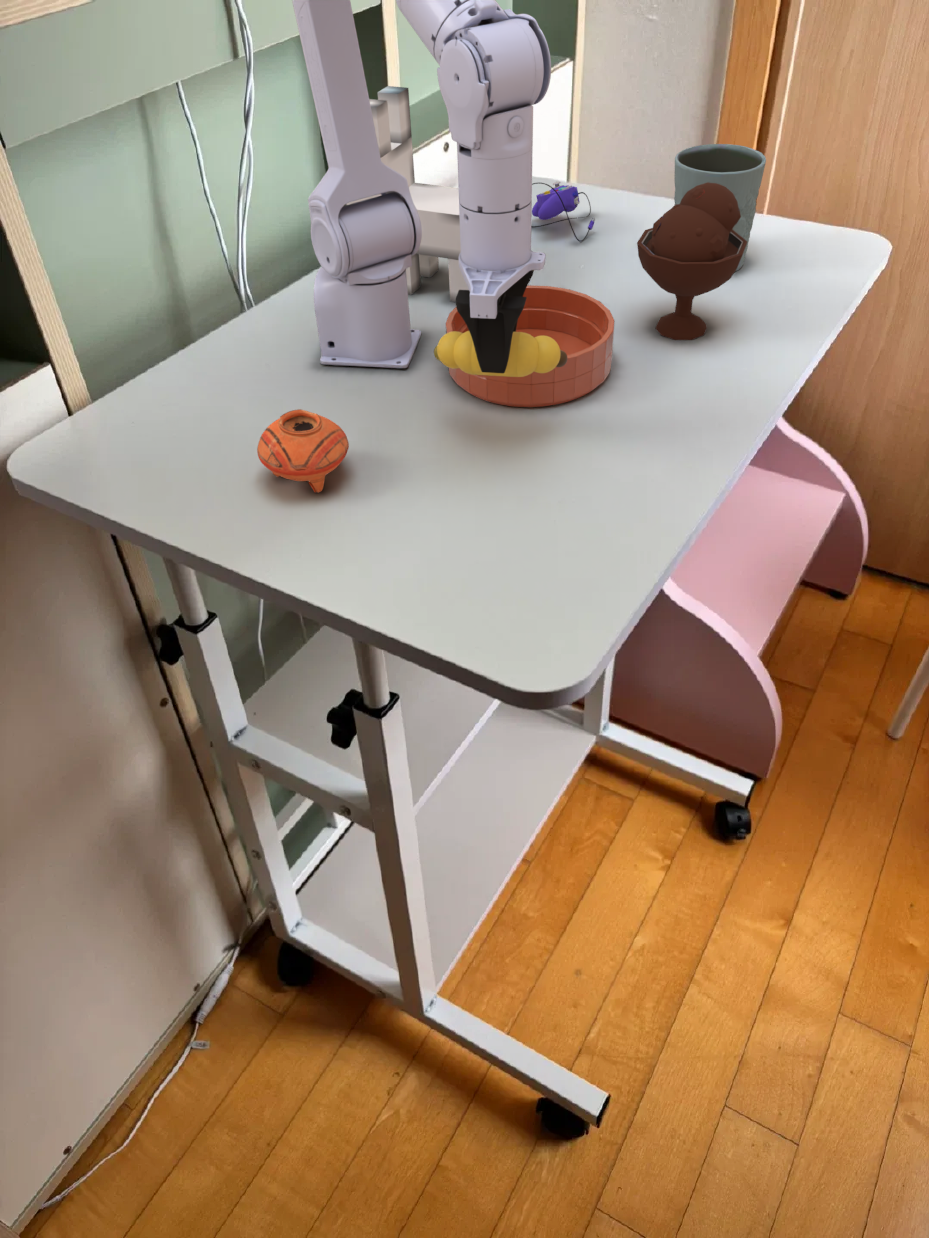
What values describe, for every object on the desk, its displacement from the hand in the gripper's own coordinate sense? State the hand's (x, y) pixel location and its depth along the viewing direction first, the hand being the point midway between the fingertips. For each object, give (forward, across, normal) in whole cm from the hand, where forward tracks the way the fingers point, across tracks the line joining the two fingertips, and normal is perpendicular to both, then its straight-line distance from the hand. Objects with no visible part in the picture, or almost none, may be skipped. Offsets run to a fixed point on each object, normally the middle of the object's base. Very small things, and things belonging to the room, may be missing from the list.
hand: (496, 358), depth 84 cm
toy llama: (+8, +33, +12) cm, 36 cm away
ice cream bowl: (+8, +24, -17) cm, 30 cm away
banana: (+1, 0, 0) cm, 1 cm away
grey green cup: (+8, +42, -20) cm, 47 cm away
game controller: (+8, +51, -2) cm, 51 cm away
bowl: (+8, +14, -1) cm, 16 cm away
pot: (+8, -8, +16) cm, 20 cm away
